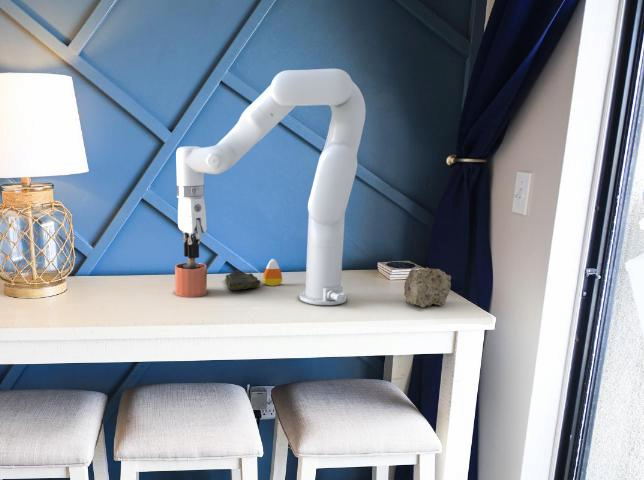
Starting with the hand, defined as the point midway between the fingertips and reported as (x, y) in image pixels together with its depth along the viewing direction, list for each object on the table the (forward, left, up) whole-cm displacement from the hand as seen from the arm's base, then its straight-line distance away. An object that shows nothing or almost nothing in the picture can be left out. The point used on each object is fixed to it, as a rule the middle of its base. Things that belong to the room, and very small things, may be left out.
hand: (191, 256), depth 181 cm
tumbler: (0, 0, -11) cm, 11 cm away
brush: (0, 0, -8) cm, 8 cm away
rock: (-38, -53, -11) cm, 66 cm away
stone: (+1, -17, -11) cm, 20 cm away
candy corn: (-2, -26, -11) cm, 28 cm away
